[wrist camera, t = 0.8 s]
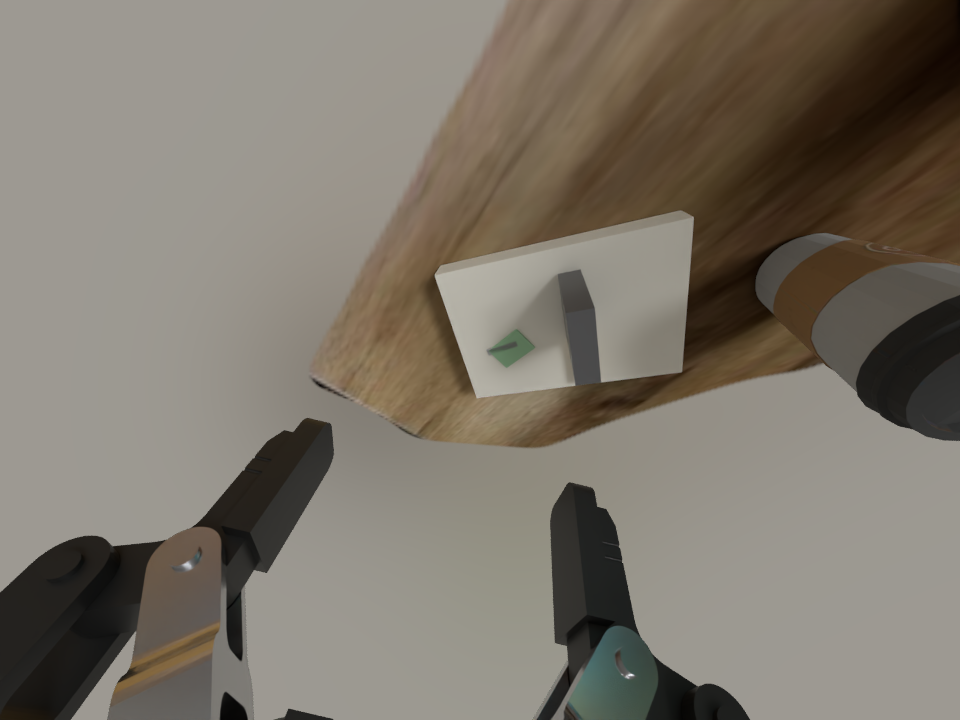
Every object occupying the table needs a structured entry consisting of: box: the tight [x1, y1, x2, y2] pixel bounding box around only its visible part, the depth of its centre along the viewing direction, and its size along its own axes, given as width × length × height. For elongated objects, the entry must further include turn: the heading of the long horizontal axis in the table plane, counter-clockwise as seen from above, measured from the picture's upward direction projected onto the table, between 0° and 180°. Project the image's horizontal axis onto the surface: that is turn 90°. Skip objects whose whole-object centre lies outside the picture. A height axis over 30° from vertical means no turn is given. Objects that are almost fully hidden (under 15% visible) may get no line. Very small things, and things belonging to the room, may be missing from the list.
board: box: [434, 210, 694, 398], centre depth 31 cm, size 20×14×3 cm
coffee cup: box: [755, 233, 960, 441], centre depth 22 cm, size 8×8×15 cm
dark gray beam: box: [558, 269, 601, 386], centre depth 27 cm, size 2×11×7 cm, turn 15°
